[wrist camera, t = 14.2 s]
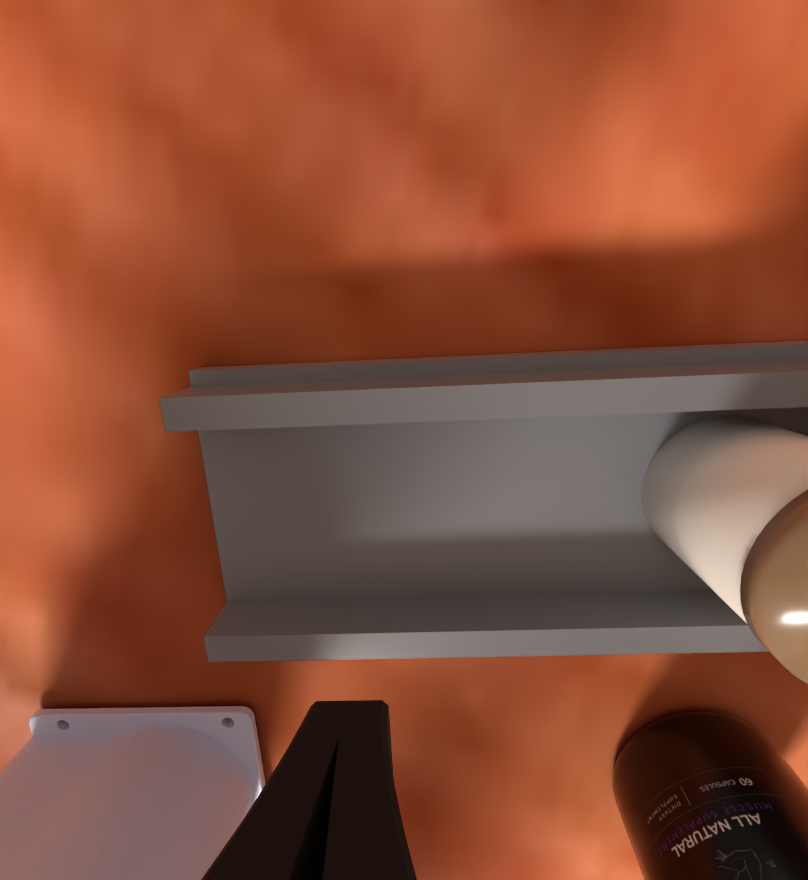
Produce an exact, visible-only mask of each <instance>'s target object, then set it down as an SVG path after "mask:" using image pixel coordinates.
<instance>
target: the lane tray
mask: <svg viewBox="0 0 808 880" xmlns="http://www.w3.org/2000/svg"><path fill="white" fill-rule="evenodd" d="M188 374H189V380H190V386H191V387H188V388H185V389H183V390H180V391H177V392H174V393H172V394H169V395H166V396H164V397H161V398H159V401H160V406H161V412H162V417H163V422H164V428H165V432H179V431H198V434H199V439H200V445H201V451H202V457H203V463H204V469H205V475H206V481H207V487H208V493H209V499H210V505H211V511H212V517H213V523H214V529H215V535H216V541H217V547H218V553H219V559H220V565H221V570H222V576H223V582H224V588H225V594H226V600H227V601H226V603H225V604H224V606H223V607H222V609H221V611H220V612H219V614H218V615H217V617H216V618H215V620H214V621H213V623H212V625H211V626H210V628H209V629H208V631H207V632H206V634H205V635H204V642H205V647H206V652H207V658H208V662H247V661H301V660H354V659H407V658H460V657H513V656H566V655H619V654H672V653H725V652H769V651H768V650H767V649H766V648H765V647H764V646H763V645H762V644H761V643H760V642H759V641H758V639H757V638H756V637H755V636H754V635H753V633H752V631H751V630H750V628H749V626H748V625H747V623H746V622H745V621H744V620H743V619H742V618H741V617H740V616H739V615H738V614H737V613H736V612H735V611H733V610H732V609H731V608H730V607H729V606H728V605H727V604H726V603H725V602H724V601H723V600H722V599H721V598H720V597H719V596H718V595H717V594H716V593H715V592H714V591H713V590H712V589H711V588H710V587H709V586H708V585H707V584H706V583H705V582H704V581H703V580H702V579H701V578H700V577H699V576H698V575H697V574H696V573H695V572H694V571H693V570H692V569H691V568H690V567H689V566H688V565H687V564H686V563H685V562H684V561H683V560H682V559H681V558H680V557H679V556H678V555H676V554H675V553H674V552H673V551H672V550H671V549H670V548H669V547H668V546H667V545H666V544H665V543H664V542H663V541H662V540H661V539H660V538H659V537H658V536H657V535H656V533H655V532H654V531H653V530H652V528H651V527H650V525H649V524H648V522H647V519H646V517H645V514H644V510H643V506H642V486H643V480H644V477H645V474H646V471H647V469H648V467H649V465H650V462H651V461H652V459H653V458H654V456H655V454H656V453H657V452H658V451H659V449H660V448H661V447H662V446H663V445H664V444H665V443H666V442H667V441H668V440H669V439H670V438H671V437H672V436H673V435H675V434H676V433H677V432H679V431H680V430H682V429H683V428H685V427H687V426H688V425H691V424H693V423H695V422H697V421H700V420H703V419H706V418H709V417H714V416H719V415H743V416H749V417H753V418H756V419H759V420H762V421H765V422H768V423H770V424H773V425H776V426H779V427H782V428H785V429H788V430H791V431H794V432H796V433H799V434H802V435H805V436H808V340H798V341H775V342H753V343H730V344H708V345H686V346H663V347H641V348H618V349H596V350H574V351H551V352H529V353H507V354H484V355H462V356H439V357H417V358H395V359H372V360H350V361H327V362H305V363H283V364H260V365H238V366H216V367H200V368H197V369H193V370H190V371H188Z"/></svg>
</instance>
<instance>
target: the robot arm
mask: <svg viewBox="0 0 808 880" xmlns="http://www.w3.org/2000/svg"><path fill="white" fill-rule="evenodd" d="M228 718H230V719H232V720H229V719H228ZM29 726H30V729H31V732H32V735H33V737H32V738H31V739H30V740H29V741H28V742H27V744H26V745H25V746H24V747H23V748H22V749H21V750H20V751H19V753H18V754H17V755H16V756H15V757H14V758H13V759H12V760H11V762H10V763H9V764H8V765H7V766H6V767H5V768H4V769H3V771H2V772H1V773H0V880H417V879H416V875H415V871H414V867H413V864H412V860H411V856H410V853H409V849H408V845H407V841H406V837H405V833H404V828H403V824H402V819H401V814H400V810H399V805H398V800H397V796H396V791H395V786H394V780H393V765H392V751H391V736H390V722H389V707H388V705H387V704H386V703H385V702H383V701H382V700H372V701H316V702H315V703H314V704H313V705H312V706H311V707H310V709H309V711H308V713H307V715H306V717H305V718H304V720H303V722H302V724H301V726H300V728H299V729H298V731H297V733H296V735H295V736H294V738H293V740H292V742H291V743H290V745H289V747H288V749H287V750H286V752H285V754H284V755H283V757H282V759H281V760H280V762H279V764H278V765H277V767H276V769H275V770H274V772H273V774H272V775H271V777H270V778H269V780H268V781H267V783H266V784H265V778H264V771H263V765H262V759H261V753H260V747H259V740H258V734H257V728H256V722H255V716H254V713H253V711H252V710H251V709H250V708H247V707H245V706H212V707H145V708H78V709H41V710H38V711H37V712H35V713H34V715H33V716H32V717H31V718H30V720H29Z"/></svg>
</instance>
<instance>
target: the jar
mask: <svg viewBox="0 0 808 880" xmlns="http://www.w3.org/2000/svg"><path fill="white" fill-rule="evenodd" d="M642 506H643V510H644V514H645V517H646V519H647V522H648V524H649V525H650V527H651V528H652V530H653V531H654V532H655V533H656V535H657V536H658V537H659V538H660V539H661V540H662V541H663V542H664V543H665V544H666V545H667V546H668V547H669V548H670V549H671V550H672V551H673V552H674V553H675V554H676V555H678V556H679V557H680V558H681V559H682V560H683V561H684V562H685V563H686V564H687V565H688V566H689V567H690V568H691V569H692V570H693V571H694V572H695V573H696V574H697V575H698V576H699V577H700V578H701V579H702V580H703V581H704V582H705V583H706V584H707V585H708V586H709V587H710V588H711V589H712V590H713V591H714V592H715V593H716V594H717V595H718V596H719V597H720V598H721V599H722V600H723V601H724V602H725V603H726V604H727V605H728V606H729V607H730V608H731V609H732V610H733V611H735V612H736V613H737V614H738V615H739V616H740V617H741V618H742V619H743V620H744V621H745V622H746V623H747V625H748V626H749V628H750V630H751V631H752V633H753V635H754V636H755V637H756V638H757V639H758V641H759V642H760V643H761V644H762V645H763V646H764V647H765V648H766V649H767V650H768V651H769V652H770V653H771V654H772V655H773V656H774V657H775V658H776V659H777V660H778V661H779V662H780V663H781V664H782V665H783V666H784V667H785V668H786V669H787V670H788V671H790V672H791V673H792V674H793V675H794V676H795V677H797V678H799V679H800V680H802V681H803V682H805V683H807V684H808V436H805V435H802V434H799V433H796V432H794V431H791V430H788V429H785V428H782V427H779V426H776V425H773V424H770V423H768V422H765V421H762V420H759V419H756V418H753V417H749V416H743V415H719V416H714V417H709V418H706V419H703V420H700V421H697V422H695V423H693V424H691V425H688V426H687V427H685V428H683V429H682V430H680V431H679V432H677V433H676V434H675V435H673V436H672V437H671V438H670V439H669V440H668V441H667V442H666V443H665V444H664V445H663V446H662V447H661V448H660V449H659V451H658V452H657V453H656V454H655V456H654V458H653V459H652V461H651V462H650V465H649V467H648V469H647V471H646V474H645V477H644V480H643V486H642Z"/></svg>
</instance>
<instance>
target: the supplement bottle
mask: <svg viewBox="0 0 808 880" xmlns="http://www.w3.org/2000/svg"><path fill="white" fill-rule="evenodd" d="M612 781H613V792H614V796H615V800H616V803H617V806H618V809H619V812H620V814H621V817H622V820H623V823H624V826H625V828H626V831H627V834H628V837H629V839H630V842H631V845H632V847H633V850H634V853H635V855H636V858H637V861H638V863H639V866H640V869H641V871H642V874H643V877H644V879H645V880H808V788H807V787H806V786H805V785H804V783H803V782H802V781H801V779H800V778H799V777H798V775H797V774H796V773H795V772H794V770H793V769H792V768H791V766H790V765H789V764H788V763H787V762H786V760H785V759H784V758H783V757H782V755H781V754H780V753H779V752H778V750H777V749H776V748H775V747H774V745H773V744H772V743H771V742H770V741H769V740H768V739H767V738H766V737H765V736H764V735H763V734H762V733H761V732H760V731H758V730H757V729H755V728H754V727H753V726H751V725H749V724H747V723H746V722H744V721H741V720H739V719H737V718H734V717H731V716H728V715H724V714H720V713H714V712H685V713H679V714H674V715H670V716H667V717H664V718H662V719H659V720H657V721H655V722H653V723H651V724H649V725H647V726H646V727H644V728H643V729H641V730H640V731H638V732H637V733H636V734H635V735H634V736H633V737H632V738H631V739H630V740H629V741H628V742H627V743H626V744H625V746H624V747H623V749H622V750H621V752H620V754H619V756H618V758H617V760H616V763H615V766H614V771H613V780H612Z"/></svg>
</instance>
